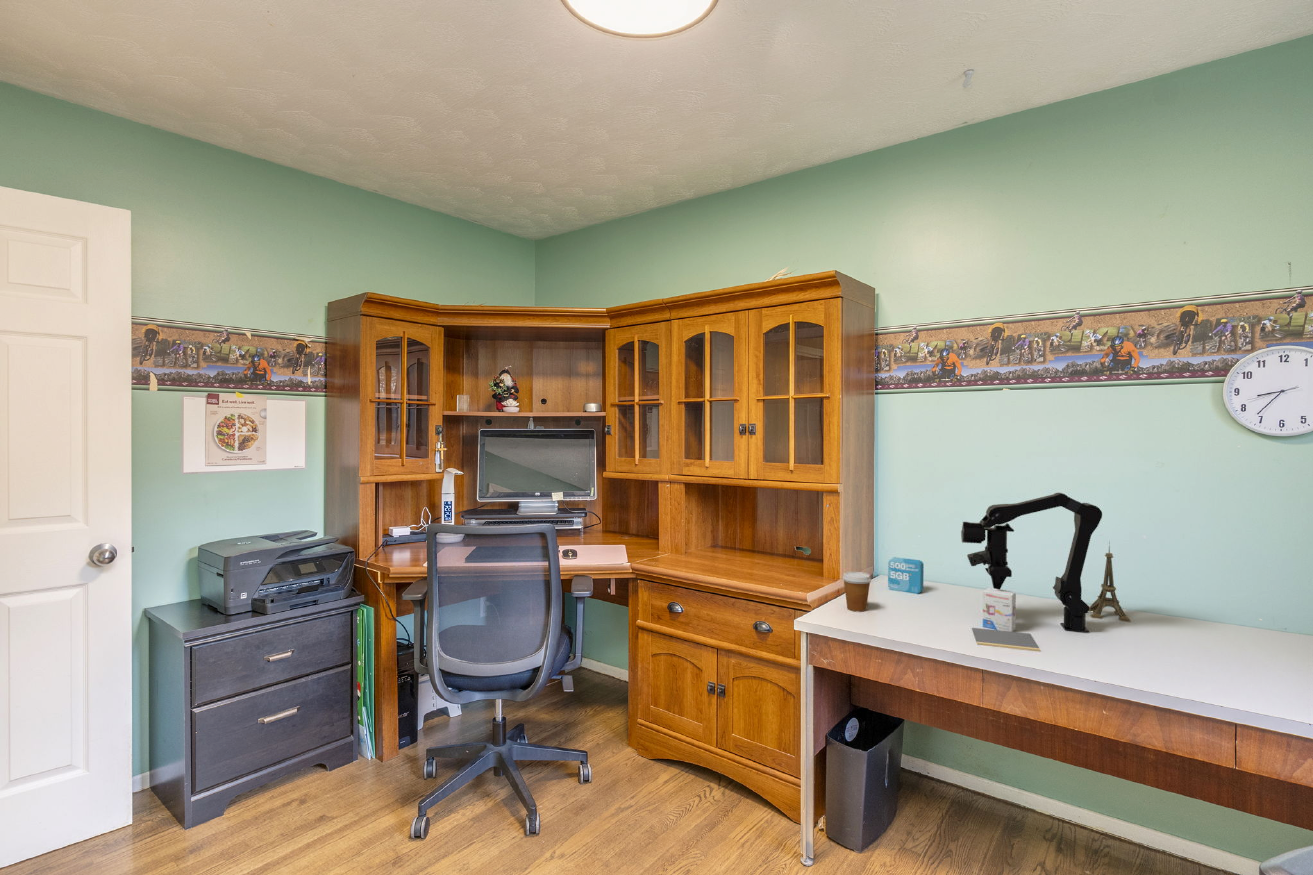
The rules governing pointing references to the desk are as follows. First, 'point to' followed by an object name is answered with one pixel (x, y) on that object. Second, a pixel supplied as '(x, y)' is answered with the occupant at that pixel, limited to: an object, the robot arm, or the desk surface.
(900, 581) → the data package
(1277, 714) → the desk surface
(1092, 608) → the eiffel tower
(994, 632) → the mat
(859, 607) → the disposable coffee cup
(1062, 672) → the desk surface
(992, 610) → the ink box
